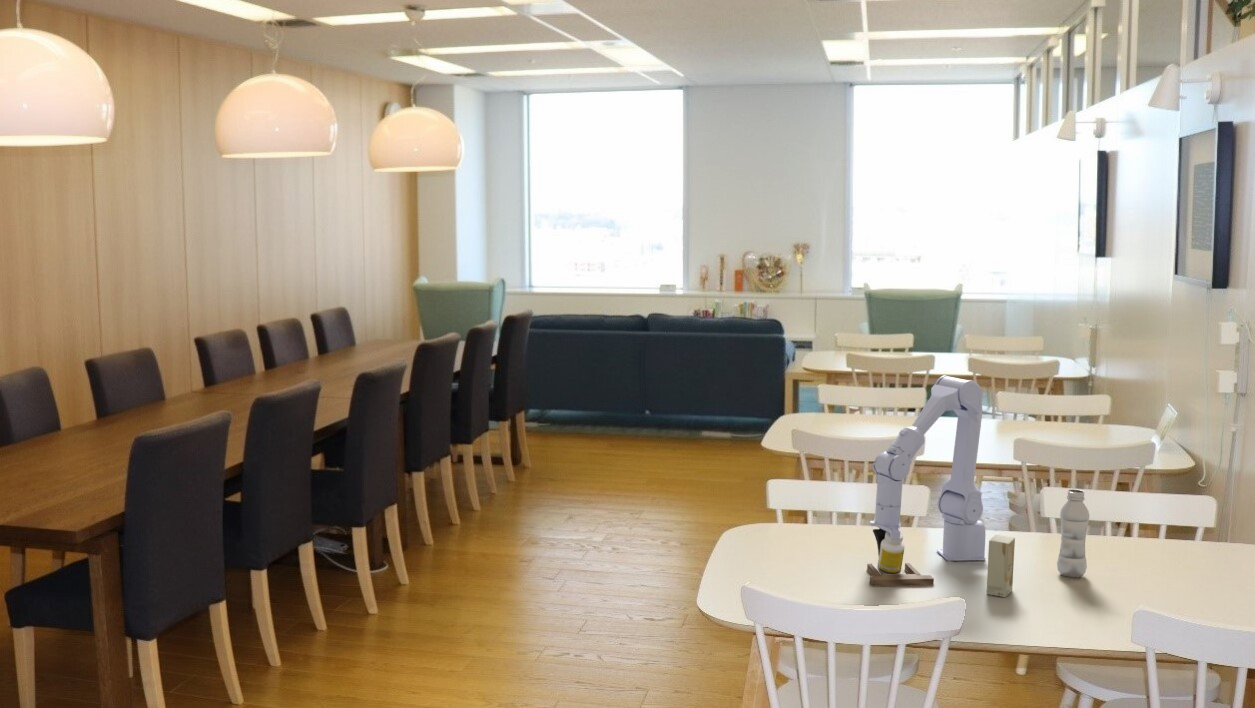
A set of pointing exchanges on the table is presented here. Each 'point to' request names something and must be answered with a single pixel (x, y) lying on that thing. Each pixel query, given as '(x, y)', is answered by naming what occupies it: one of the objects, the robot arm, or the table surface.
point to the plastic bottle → (1073, 535)
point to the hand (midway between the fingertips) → (884, 560)
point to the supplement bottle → (891, 555)
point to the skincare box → (1000, 565)
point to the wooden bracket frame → (899, 577)
